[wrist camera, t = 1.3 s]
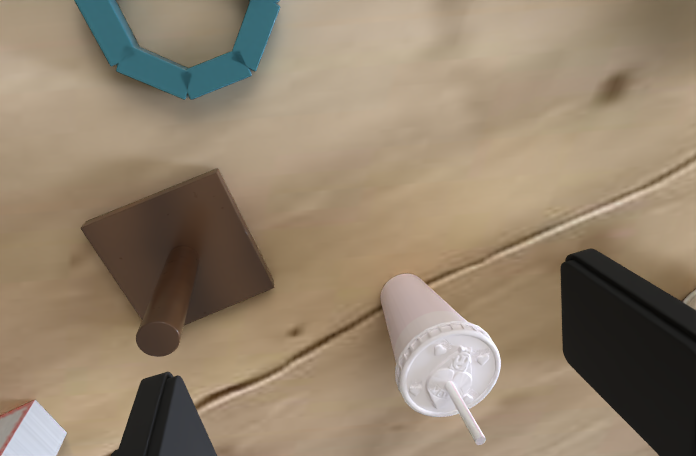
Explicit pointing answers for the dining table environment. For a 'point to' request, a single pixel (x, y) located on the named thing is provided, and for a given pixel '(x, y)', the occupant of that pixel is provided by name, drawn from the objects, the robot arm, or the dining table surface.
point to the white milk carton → (30, 432)
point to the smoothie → (437, 352)
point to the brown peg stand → (179, 257)
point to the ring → (171, 76)
